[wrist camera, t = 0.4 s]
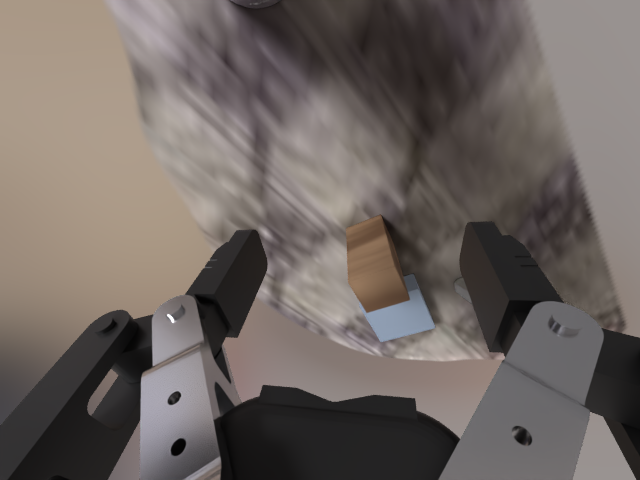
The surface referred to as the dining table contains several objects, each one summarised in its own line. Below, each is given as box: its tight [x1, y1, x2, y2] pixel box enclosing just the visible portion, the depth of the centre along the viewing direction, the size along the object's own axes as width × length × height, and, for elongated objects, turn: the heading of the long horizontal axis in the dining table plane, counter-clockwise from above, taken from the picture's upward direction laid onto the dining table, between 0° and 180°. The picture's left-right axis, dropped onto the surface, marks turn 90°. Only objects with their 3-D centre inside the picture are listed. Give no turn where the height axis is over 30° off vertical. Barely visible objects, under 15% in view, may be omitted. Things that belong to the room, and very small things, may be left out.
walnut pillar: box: [346, 215, 410, 313], centre depth 30 cm, size 4×4×10 cm
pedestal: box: [359, 274, 435, 342], centre depth 39 cm, size 8×8×3 cm
